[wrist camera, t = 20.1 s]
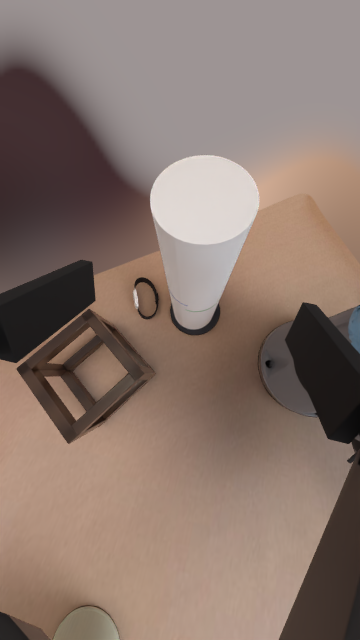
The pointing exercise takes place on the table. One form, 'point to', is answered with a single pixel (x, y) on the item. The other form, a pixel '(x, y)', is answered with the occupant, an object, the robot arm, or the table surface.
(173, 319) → the coaster
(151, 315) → the watch
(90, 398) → the rack
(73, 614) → the can
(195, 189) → the cylindrical container
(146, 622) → the table surface
